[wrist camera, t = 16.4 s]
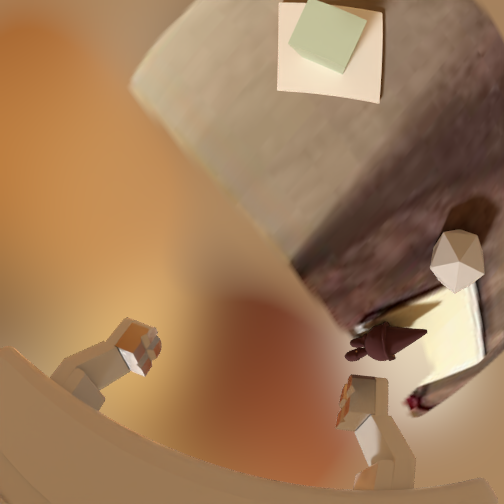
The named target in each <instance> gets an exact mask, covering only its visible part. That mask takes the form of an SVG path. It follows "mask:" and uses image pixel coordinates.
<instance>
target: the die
mask: <svg viewBox="0 0 504 504" xmlns="http://www.w3.org/2000/svg"><path fill="white" fill-rule="evenodd" d="M430 269H431V270H432V271H433V273H434V274H435V276H436V277H437V278H438V280H439V281H440V282H441V283H442V284H443V285H445V286H446V287H447V288H448V289H449V290H451V291H452V292H453V293H454V294H455V293H457V292H459V291H460V290H462V289H464V288H466V287H468V286H470V285H471V284H472V283H474V282H475V281H476V280H478V279H479V278H480V277H481V276H483V275H484V260H483V251H482V248H481V245H480V242H479V239H478V236H477V235H475V234H472V233H469V232H467V231H464V230H461V229H458V230H452V231H446V232H443V233H442V235H441V237H440V238H439V240H438V241H437V243H436V244H435V246H434V247H433V253H432V259H431V264H430Z"/></svg>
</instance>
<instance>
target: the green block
mask: <svg viewBox="0 0 504 504" xmlns="http://www.w3.org/2000/svg"><path fill="white" fill-rule="evenodd" d="M366 22H367V20H364V19H362V18H360V17H358V16H356V15H353V14H351V13H349V12H346V11H344V10H342V9H339V8H337V7H334V6H331V5H329V4H326V3H323V2H320V1H318V0H308V1H307V3H306V5H305V7H304V9H303V11H302V14H301V16H300V18H299V20H298V22H297V24H296V27H295V29H294V31H293V33H292V35H291V38H290V40H289V42H288V44H289V45H290V46H291V47H292V48H293V49H294V50H295V51H296V52H297V53H298V54H299V55H300V56H301V57H303V58H305V59H308V60H310V61H313V62H315V63H317V64H320V65H322V66H324V67H327V68H329V69H331V70H333V71H335V72H338V73H340V74H342V75H343V73H344V71H345V69H346V66H347V64H348V62H349V60H350V58H351V56H352V54H353V52H354V49H355V47H356V45H357V43H358V41H359V39H360V36H361V34H362V32H363V29H364V27H365V25H366Z"/></svg>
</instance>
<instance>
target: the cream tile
mask: <svg viewBox="0 0 504 504" xmlns="http://www.w3.org/2000/svg"><path fill="white" fill-rule="evenodd" d="M305 5H306V3H279V34H278V81H277V91H292V92H304V93H314V94H323V95H331V96H338V97H345V98H352V99H358V100H363V101H369V102H374V103H379V99H380V87H381V71H382V40H383V22H382V13H381V12H376V11H371V10H365V9H359V8H353V7H345V6H337V5H331V6H334V7H337V8H339V9H342V10H344V11H346V12H349V13H351V14H353V15H356V16H358V17H360V18H362V19H364V20H367V22H366V25H365V27H364V29H363V32H362V34H361V36H360V39H359V41H358V43H357V45H356V47H355V49H354V52H353V54H352V56H351V58H350V60H349V62H348V64H347V66H346V69H345V71H344V73H343V75H342V74H340V73H338V72H335V71H333V70H331V69H329V68H327V67H324V66H322V65H320V64H317V63H315V62H313V61H310V60H308V59H305V58H303V57H301V56H300V55H299V54H298V53H297V52H296V51H295V50H294V49H293V48H292V47H291V46H290V45H289V44H288V42H289V40H290V38H291V35H292V33H293V31H294V29H295V27H296V24H297V22H298V20H299V18H300V16H301V14H302V11H303V9H304V7H305Z"/></svg>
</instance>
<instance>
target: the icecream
mask: <svg viewBox="0 0 504 504" xmlns="http://www.w3.org/2000/svg"><path fill="white" fill-rule="evenodd" d="M426 333H427V330H425V329H412V328H402V327H392V326H389V323H388V322H387V321H386V322H384V323H383V325H378V326H374V327H373V328H372V329H371V330H370V331H369V333H368V334H365V335H363V337H359V338H356V339H353V340H351V342H350V345H351V346H352V347H356V348H357V349H354V350H352V351H349V352H347V353H346V355H345V358H346V359H347V360H348V361H357V360H359V359H360V358H362V357H364V356H365V355H367V354H368V356H370V357H372V358H373V359H375V360H378V361H386V360H389V361H391V360H394V359H395V355H394V354H396V353H397V352H399V351H401V350H402V349H403V348H405V347H407V346H408V345H410V344H412V343H413V342H415V341H416V340H418V339H419V338H421V337H422V336H424V335H425V334H426ZM361 347H364V348H361Z"/></svg>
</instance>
